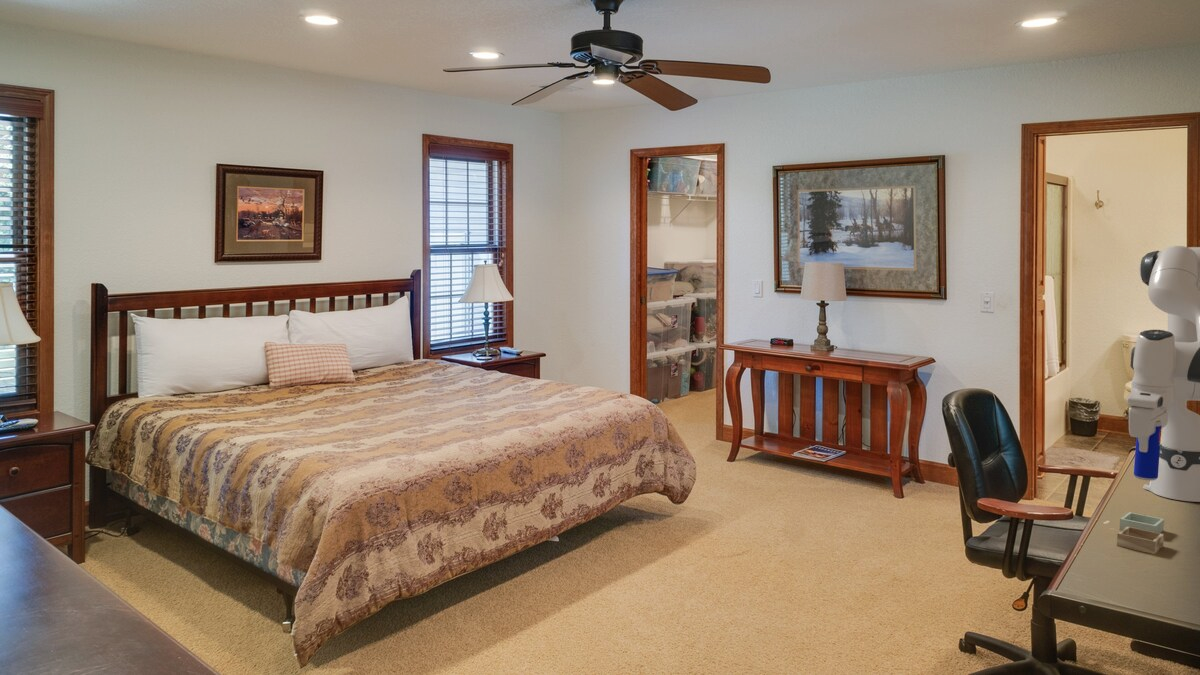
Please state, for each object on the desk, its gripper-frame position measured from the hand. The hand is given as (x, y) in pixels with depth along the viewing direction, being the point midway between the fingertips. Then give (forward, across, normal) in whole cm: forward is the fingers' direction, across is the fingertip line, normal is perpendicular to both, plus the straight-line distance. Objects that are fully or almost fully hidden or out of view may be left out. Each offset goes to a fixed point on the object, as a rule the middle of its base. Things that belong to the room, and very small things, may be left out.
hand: (1147, 449), depth 213 cm
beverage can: (+8, 0, 0) cm, 8 cm away
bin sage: (+21, +1, 0) cm, 21 cm away
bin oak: (+21, +14, +3) cm, 25 cm away
